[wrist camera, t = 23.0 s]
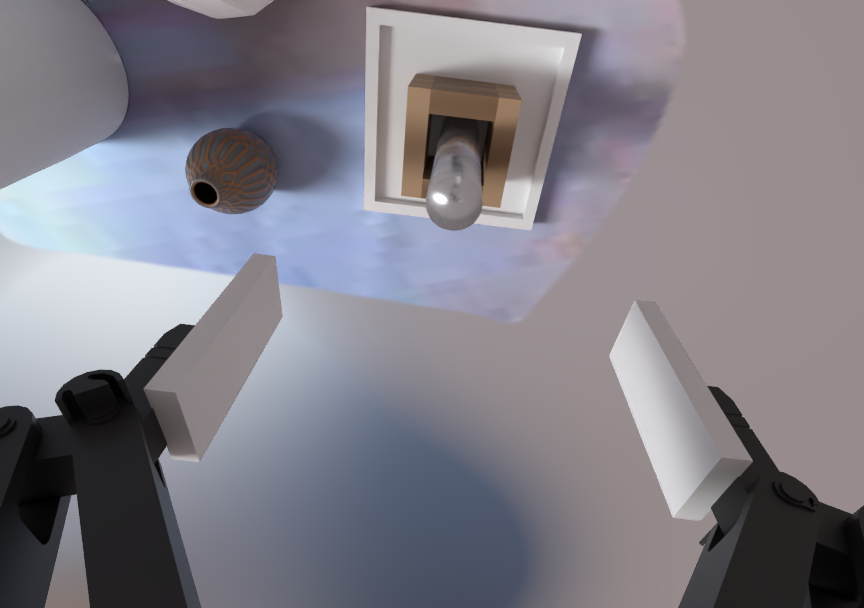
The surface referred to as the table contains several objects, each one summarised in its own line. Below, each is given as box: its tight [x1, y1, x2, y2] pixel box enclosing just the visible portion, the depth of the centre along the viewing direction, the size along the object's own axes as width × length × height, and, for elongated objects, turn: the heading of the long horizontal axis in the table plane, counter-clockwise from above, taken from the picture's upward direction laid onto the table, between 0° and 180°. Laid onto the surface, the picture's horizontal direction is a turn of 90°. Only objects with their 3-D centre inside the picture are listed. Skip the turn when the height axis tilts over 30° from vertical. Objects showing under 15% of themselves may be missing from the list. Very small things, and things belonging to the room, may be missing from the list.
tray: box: [364, 7, 582, 230], centre depth 37 cm, size 16×16×2 cm
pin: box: [426, 116, 483, 230], centre depth 31 cm, size 3×3×16 cm
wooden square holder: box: [401, 74, 522, 208], centre depth 35 cm, size 8×8×6 cm
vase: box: [185, 128, 278, 214], centre depth 37 cm, size 7×7×9 cm
